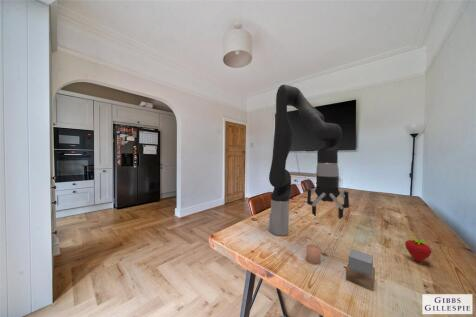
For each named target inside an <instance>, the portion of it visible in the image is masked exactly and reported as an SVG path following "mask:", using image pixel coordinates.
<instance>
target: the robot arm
mask: <svg viewBox="0 0 476 317" xmlns="http://www.w3.org/2000/svg"><path fill="white" fill-rule="evenodd" d="M275 95H276V97H275V127H274V134H273V146H272V147H273V148H272V158H271V159H272V160H271V164H270V169H269V175H268V181H269V183H270V185H271V186H272V187H273V190H272V193H271V194H270V212H269V214H268V215H269V216H268V232H270V233H271V234H273V235H276V236H281V237H283V236H287V235H289V233H290V232H289V231H290V229H289V225H290V224H289V222H290V218H289V216H290V196H291V189H292V176H291V173H290V171H288V169H286V165H287V159H288V157H289V153H290V151H291V148H292V146H293V140H294V139H293V137H294V136H293V135H294V130H293V126H292V123H291V121H290V119H289V115H288V106H289V107H293V108H295V109H296V110H297V111H298V115H299V118H300V119H301V121H302V122H303V123H304V124H305V125H306V126H307V127H308V129H309V132H310V133H311V135H312V137H313V138H314V139H315V140H317V141H319V142H325V143H324V146H323V147H320V148H318V149H317V151H316V152H317V153H316V154H317V156H316V160H317V163H316V171H315V172H316V174H315V176H316V181H315V182H316V188H314V189H313V188H310V187H309V188H308V189H307V198H306V200H307V202H306V203H307V205H309V206H311V213H312V215H313V216H314V217H317V206H316V205H318V204H319V203H320V202H321V201H322V202H329V203H333V202H334V203H335V204H336V206H337V217H338V219H339V220H341V219H342V218H343V217H344V209H346V208H347V209H348V208H350V202H349V200H350V199H349V192H348V191H347V190H341V191H340V190H339V175H340V174H339V164H338V162H339V160H338V159H339V158H338V156H339V155H338V152H339V148H340V145H341V142H342V138H343V130H342V129H343V128H341V126H340V125H339V124H337V123H332V122H326V121H325V116H324V115H323V113H321V112H320V111H319V110H318V109H317V108H315V107H314V105H312V104H311V103H310V102H309V101H308V100H307V98H306V97H305V95H304V94H303V93H302V91H301V90H300V89H299V88H298V87H295V86H293V85H288V84H281V85H279V87H278V89H277V91H276V94H275ZM314 193H315V195H316V198H314V200H312V195H314ZM340 195H341V197H342V198H343V203H341V202H340V201H339V199H338V197H339V196H340ZM311 200H312V201H311Z"/></svg>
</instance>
